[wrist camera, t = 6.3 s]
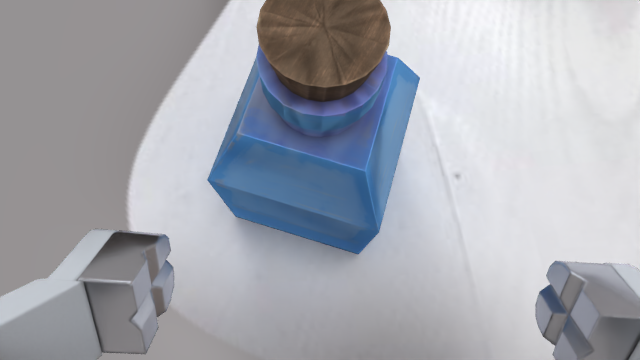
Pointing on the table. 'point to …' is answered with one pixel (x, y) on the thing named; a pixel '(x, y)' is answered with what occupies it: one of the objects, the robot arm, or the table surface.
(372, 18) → the perfume bottle
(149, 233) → the robot arm
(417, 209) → the table surface
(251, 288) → the table surface
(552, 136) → the table surface
